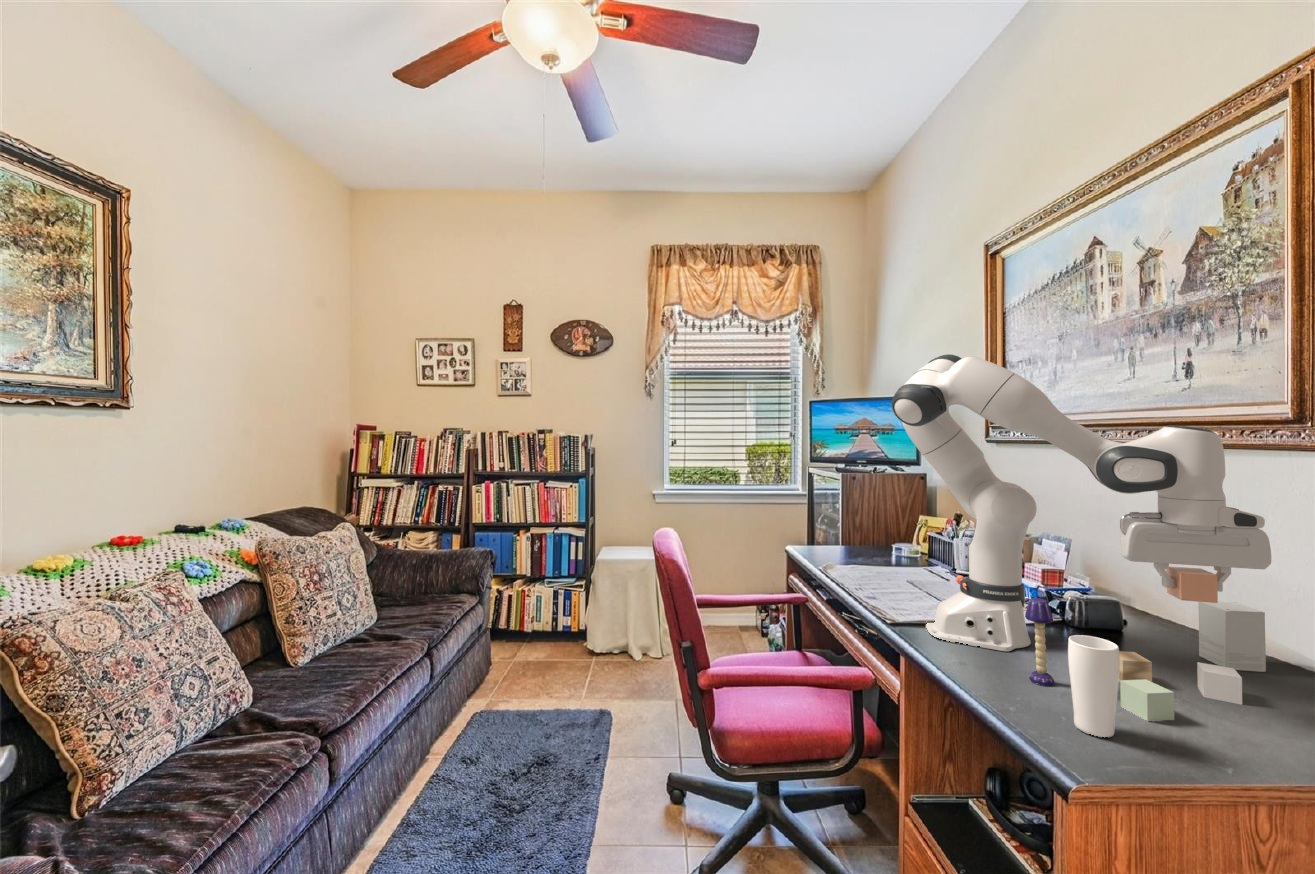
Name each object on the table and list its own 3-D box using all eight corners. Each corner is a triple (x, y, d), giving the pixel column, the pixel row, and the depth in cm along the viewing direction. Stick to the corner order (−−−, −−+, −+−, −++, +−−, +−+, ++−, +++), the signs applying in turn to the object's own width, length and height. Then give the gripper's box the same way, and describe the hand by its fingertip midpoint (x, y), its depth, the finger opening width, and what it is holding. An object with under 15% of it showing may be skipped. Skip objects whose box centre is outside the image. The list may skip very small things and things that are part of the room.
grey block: (1203, 697, 101) (1203, 671, 101) (1197, 687, 105) (1197, 662, 105) (1242, 705, 98) (1241, 678, 98) (1234, 694, 102) (1233, 668, 102)
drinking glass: (1058, 721, 93) (1057, 635, 93) (1094, 718, 93) (1093, 633, 93) (1093, 743, 86) (1092, 651, 86) (1131, 740, 86) (1130, 649, 86)
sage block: (1147, 722, 92) (1147, 693, 92) (1120, 707, 97) (1120, 680, 97) (1174, 721, 92) (1174, 692, 92) (1146, 706, 97) (1145, 679, 97)
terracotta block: (1181, 600, 96) (1181, 572, 96) (1166, 592, 100) (1166, 566, 100) (1217, 603, 94) (1217, 575, 94) (1201, 595, 99) (1200, 568, 99)
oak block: (1122, 685, 106) (1122, 660, 106) (1107, 674, 111) (1106, 650, 111) (1152, 687, 105) (1151, 662, 105) (1134, 676, 110) (1134, 652, 110)
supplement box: (1267, 672, 110) (1267, 612, 110) (1225, 670, 112) (1224, 610, 112) (1236, 658, 118) (1236, 601, 118) (1197, 655, 119) (1196, 599, 119)
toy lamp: (1046, 689, 104) (1045, 604, 104) (1020, 679, 108) (1020, 598, 108) (1059, 683, 106) (1058, 601, 106) (1033, 674, 111) (1033, 594, 111)
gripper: (1127, 513, 98) (1128, 588, 98) (1277, 518, 91) (1278, 599, 91) (1112, 509, 104) (1113, 579, 104) (1252, 513, 96) (1253, 589, 96)
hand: (1191, 589), depth 97 cm, fingers closed on terracotta block, 5 cm apart
